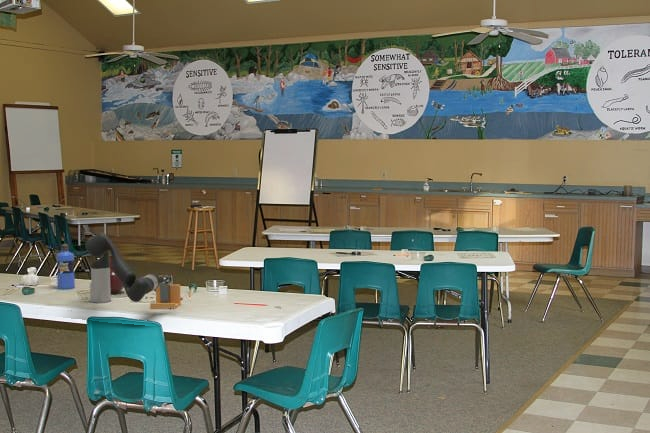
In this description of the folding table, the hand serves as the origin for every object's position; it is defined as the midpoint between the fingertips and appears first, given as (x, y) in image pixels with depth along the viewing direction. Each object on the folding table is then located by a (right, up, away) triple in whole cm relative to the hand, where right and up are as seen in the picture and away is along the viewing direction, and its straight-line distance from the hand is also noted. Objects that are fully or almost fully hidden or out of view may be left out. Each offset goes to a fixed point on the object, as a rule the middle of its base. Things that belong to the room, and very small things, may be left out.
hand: (159, 276), depth 388 cm
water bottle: (-65, -11, +64) cm, 92 cm away
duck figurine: (-89, -11, +76) cm, 118 cm away
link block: (+1, -14, +8) cm, 17 cm away
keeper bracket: (+1, -15, +8) cm, 17 cm away
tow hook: (+2, -14, +27) cm, 30 cm away
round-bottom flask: (-34, -13, +47) cm, 60 cm away
